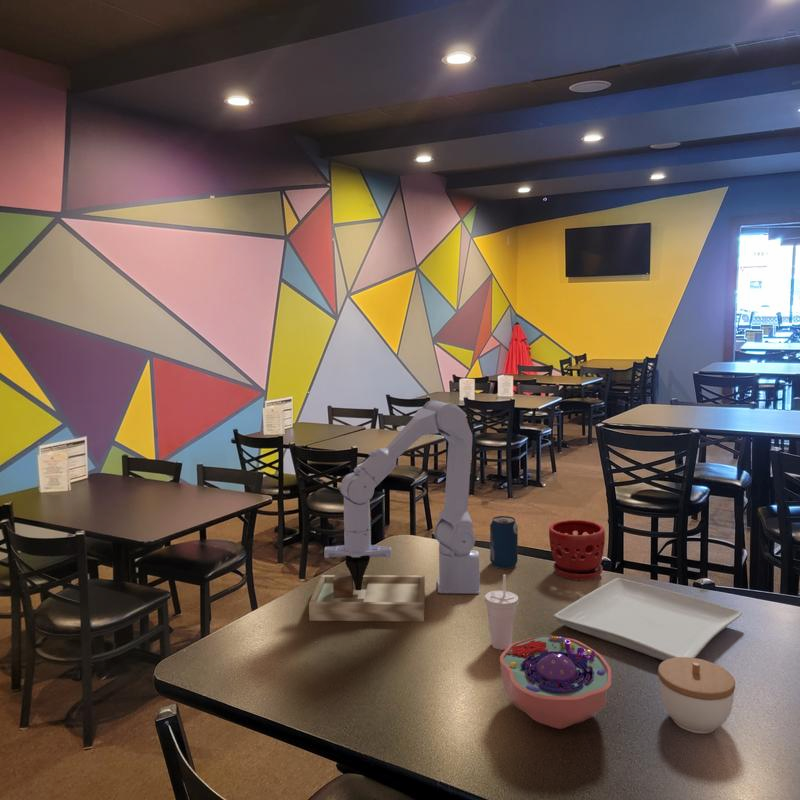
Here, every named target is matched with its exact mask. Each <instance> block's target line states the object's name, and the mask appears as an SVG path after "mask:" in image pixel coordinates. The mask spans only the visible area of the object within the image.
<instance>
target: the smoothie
mask: <svg viewBox="0 0 800 800" xmlns="http://www.w3.org/2000/svg"><path fill="white" fill-rule="evenodd" d="M484 603H485V604H486V609H487V618H488V625H489V633H490V634H489V635H490V641H491V646H492V648H494V649H495V650H501V651H505V650H506V649H507V647H508V646H509V645H510V644H512V642H513V635H514V628H515V620H516V612H517V606H518V605H519V596H518V595H517V594H516V593H514V592H511V591H509V590H508V591H507V574H505V573H504V574H502V590H501V589H500V590H492V591H489V592H487V593H486V594H485V595H484Z"/></svg>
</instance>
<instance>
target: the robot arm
mask: <svg viewBox="0 0 800 800" xmlns="http://www.w3.org/2000/svg"><path fill="white" fill-rule="evenodd" d="M439 433H440V435H441V436H442V437H443V438H444V439H446V441H447V443H448V445H447V459H446V461H447V462H446V475H445V479H446V480H445V488H444V489H445V490H444V491H445V492H444V504H443V507H444V508H443V509H441V511H440V512H439V513H438V520H437V523H436V525H435V527H434V531H433V533H434V537H435V540H436V541H438V543H439V544H438V545H439V546H438V563H439V564H438V567H439V568H438V569H439V571H438V573H439V576H438V578H437V593H438V594H457V595H458V594H467V595H468V594H471V595H472V594H473V595H474V594H480V583H481V575H480V555H479V551H478V550H474V549H473V548H474V546H475V544H476V535H475V533H474V529H473V521H472V519H471V517H470V514H469V511H468V509H469V506H468V505H469V493H470V476H471V465H472V464H471V463H472V453H473V452H472V450H473V432H472V431H471V428H470V425H469V422H468V421H467V413H466V412H465V411H464V410H463V409H461V407H460V406H458V405H456V404H454V403H448V402H443V401H440V400H436V399H432V400H428V401H427V402H426V403H425V404H423V406H422V407H421V408H418V410H417V411H416V412H415V413H414V415H413V417H412V418H411V419H410V420H409V422H408V423H407V424H406V425H405V426H404V427H403V428H402V429H401V430H400V431H399V432H398V433H397V435H396V436H395V437H394V438H393V439H392V440H391V441H390V443H389V444H387V446H386V447H384V448H383V447H382V448H380V447H379V448H376V449H375V450H373V449H372V450H371V451H370V452H369V453H368V457H367V458H366V459H365V460H364V461H363V462H362V463H361V464H360V465H359V466H358V467H357V466H356V467H354V469H353V472H351V473H348V474H345V475H344V477H343V478H342V480H341V483H340V485H339V486H338V487H339V492H340V494H341V495H342V496H343V532H344V533H343V534H344V538H343V539H344V544H342V545H334V546H325V547H324V549H323V552H324V554H323V556H324V559H330V558H345V561H344V562H345V566H346V567H347V569H348V571H349V573H351V575H352V578H353V581H354V584H355V590H361V589H362V581H363V576H364V575H365V573H366V569H367V568H368V565H369V563H370V559H371V558H386V559H391V558H392V546H383V545H375V544H372V542H371V540H372V539H371V537H372V536H371V535H372V534H371V508H370V507H371V506H370V503H371V502H370V500H371V499H372V498H373V496H374V494H375V488H376V487H378V486H379V485H380V484H381V482H382V481H384V479H386V477H387V476H388V475H389V474H390V473H391V472H392V471H393V470H394V469H395V468H396V467H397V460H398V458H399V457H400V456H401V455H402V454H403V453H405V452H406V451H407V450H408V449H409V448H410V447H411V446H412V445H413V444H414V443H416V442H417V441H418V440H419V439H420V438H421V437H422V436H426V435H434V434H439Z"/></svg>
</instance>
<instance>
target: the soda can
mask: <svg viewBox="0 0 800 800" xmlns="http://www.w3.org/2000/svg"><path fill="white" fill-rule="evenodd" d="M518 527H519V526H518V524H517V522H516V518H514V517H512V516H506V515H500V516H494V517H493V518H492V521H491V523H490V525H489V531H490V532H489V560H490V563H491V564H492V565H493V567H494V568H496V569H503V570H509V569H513V568H515V566H516V565H517V564H518V560H519V559H518V557H519V556H518V553H519V552H518V551H519V550H518V549H519V546H518V544H519V543H518V542H519V541H518V539H519V538H518V537H519V535H518V533H519V530H518Z"/></svg>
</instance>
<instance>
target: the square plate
mask: <svg viewBox="0 0 800 800" xmlns="http://www.w3.org/2000/svg"><path fill="white" fill-rule="evenodd" d="M742 615H743V613H742V611H740V610H738V609H734V608H731V607H729V606H728V607H727V606H724V605H721V604H717V603H714V602H712V601H708V600H705V599H703V598H702V599H701V598H697V597H695V596H692V595H691V596H690V595H686V594H684V593H680V592H678V591H677V592H676V591H674V590H669V589H665V588H661V587H658V586H654V585H649V584H646V583H641V582H637V581H632V580H630V579H625V578H620V577H616V578H613V579H611V580H610V581H608V582H607V583H604V584H603V585H601V586H599V587H597V588H595V589H594V590H593V591H591V592H589V593H587V594H585V595H584V596H582V597H580V598H579V599H577V600H575V601H574V602H572V603H570V604H568V605H567V606H565V607H564V608H562V609H561V610H559V611H558V612H556V613H554V614H553V618H555V619H556V620H557V621H558V622H559V623H561V625H563V626H566V627H568V628H570V629H572V630H574V631H577V632H581V633H584V634H586V635H590V636H593V637H595V638H598V639H601V640H604V641H607V642H610V643H613V644H617V645H620V646H622V647H624V648H627V649H631V650H634V651H635V652H636V651H637V652H639V653H642V654H644V655H648V656H650V657H652V658H655V659H658V660H661V661H662V662H663V661H665V660H667V659H670V658H676V657H689V658H696V657H697V656H698V655H699V654H700V653H701V651H702V650H703V649H704V648H705V647H706V646H707V644H708V643H709V642H710V641H711V640H712V639H713V638H714V637H715V636H717V635H718V634H719V633H720V632H721V631H723V630H724V629H726V628H727V627H729V625H731V624H732V623H733V622H734V621H736V620H737V619H738V618H740V617H741V616H742Z"/></svg>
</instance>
